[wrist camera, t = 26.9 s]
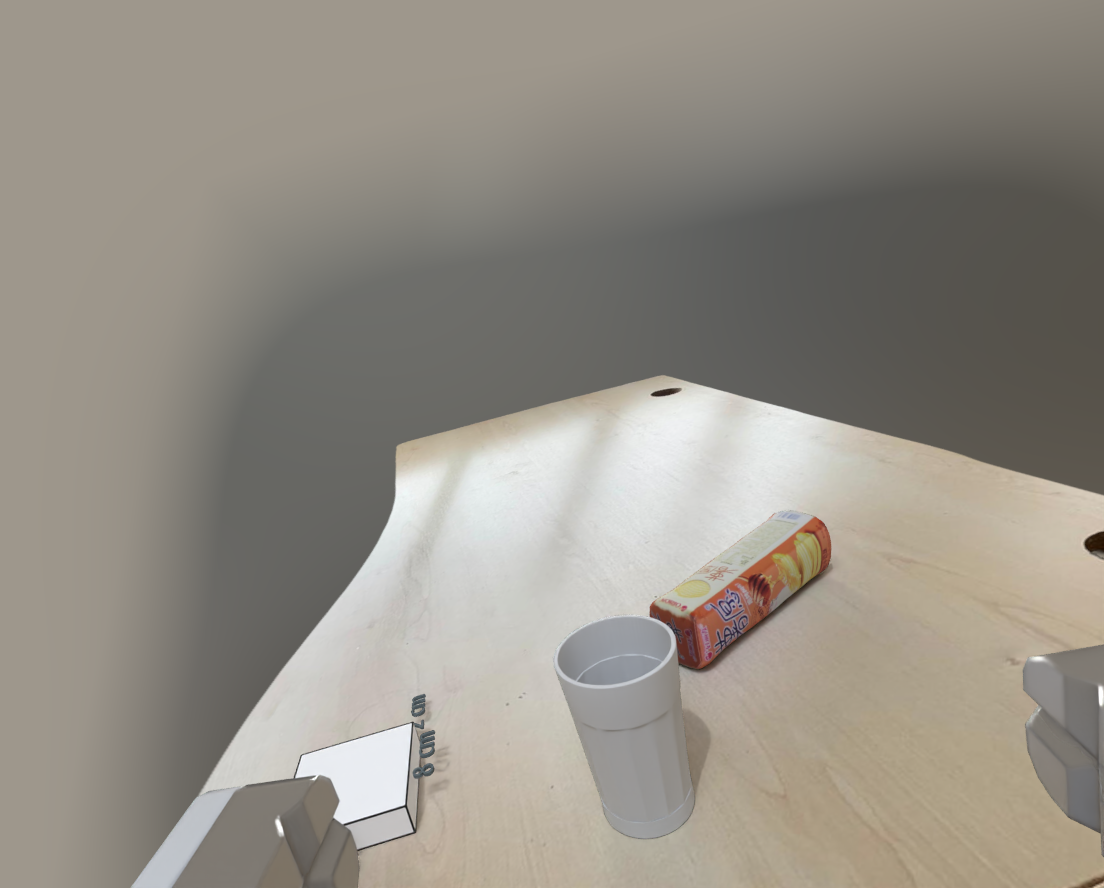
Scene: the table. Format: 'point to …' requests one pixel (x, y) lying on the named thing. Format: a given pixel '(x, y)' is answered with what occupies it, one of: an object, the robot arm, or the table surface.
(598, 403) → the table surface
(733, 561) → the snack package
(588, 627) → the cup
